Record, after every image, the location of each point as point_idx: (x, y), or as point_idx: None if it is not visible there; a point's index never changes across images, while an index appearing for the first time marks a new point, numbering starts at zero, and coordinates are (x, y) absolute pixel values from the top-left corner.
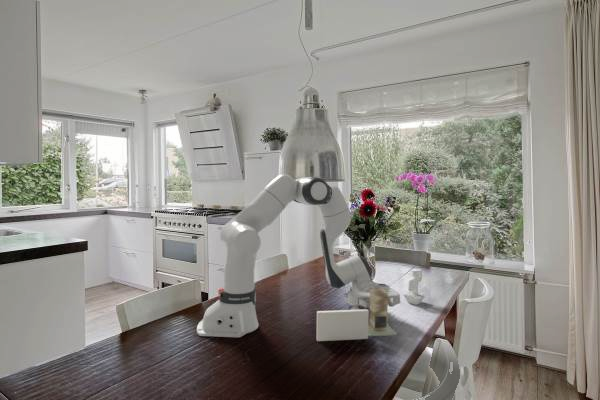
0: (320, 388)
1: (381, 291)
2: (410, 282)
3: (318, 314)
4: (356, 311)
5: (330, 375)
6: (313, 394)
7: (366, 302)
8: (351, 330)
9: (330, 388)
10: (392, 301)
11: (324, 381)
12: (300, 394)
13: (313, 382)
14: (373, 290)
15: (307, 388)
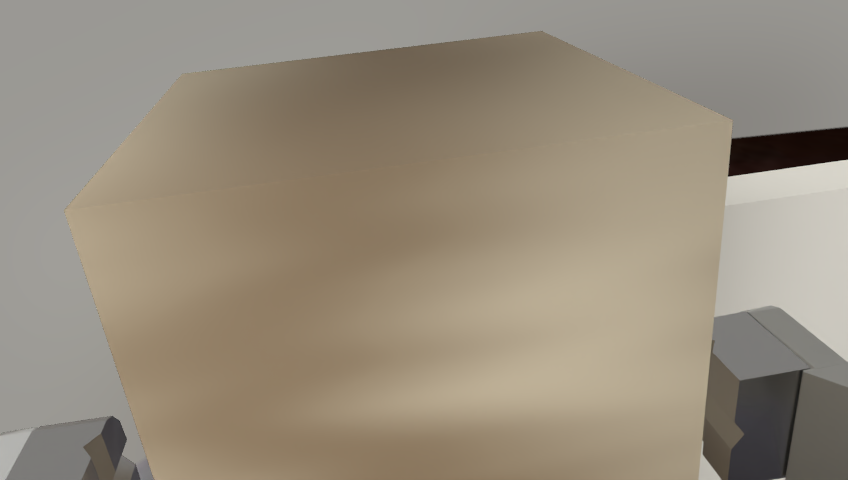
0: (772, 147)
1: (298, 96)
2: None
3: None
4: (812, 167)
5: None
6: (782, 133)
7: (746, 325)
8: None
9: (732, 151)
10: (2, 453)
11: (776, 165)
12: (830, 128)
13: (821, 157)
14: (570, 91)
15: (824, 142)
